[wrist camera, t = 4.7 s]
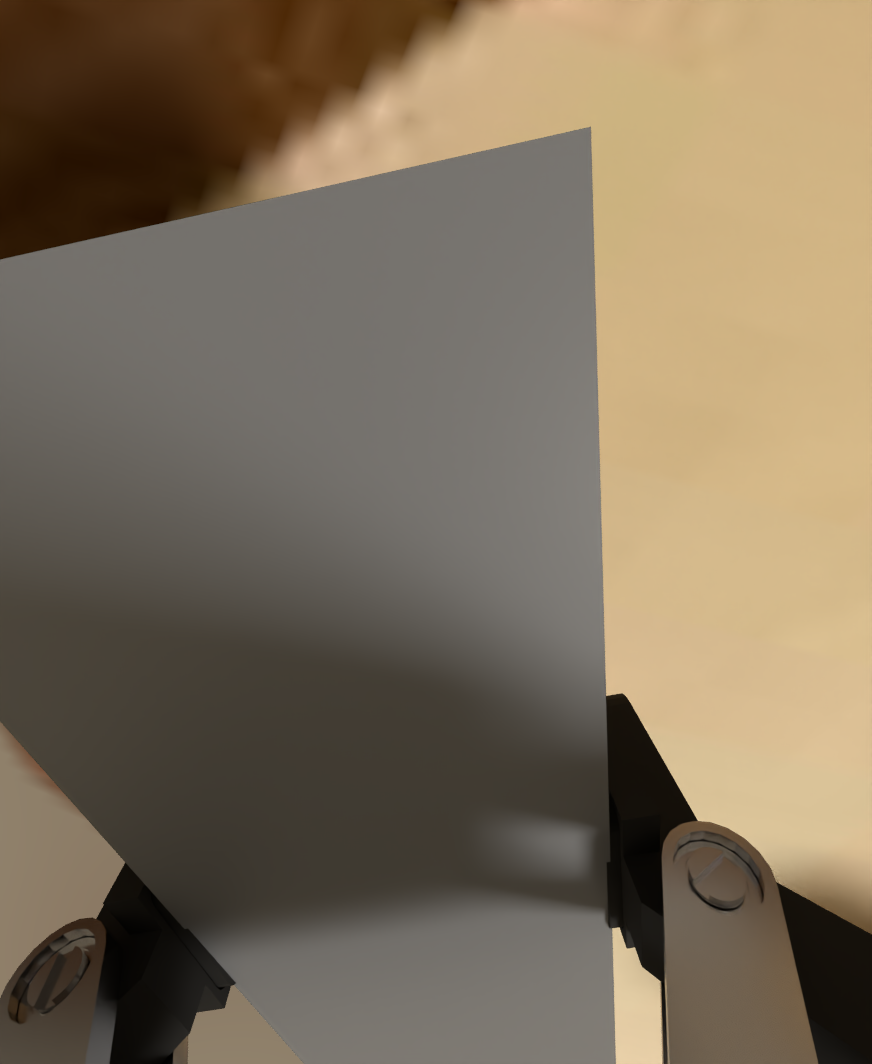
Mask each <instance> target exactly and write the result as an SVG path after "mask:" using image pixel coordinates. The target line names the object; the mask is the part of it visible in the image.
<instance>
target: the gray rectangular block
mask: <svg viewBox="0 0 872 1064" xmlns="http://www.w3.org/2000/svg"><path fill="white" fill-rule="evenodd" d="M0 722H1V723H2V724H3V725H4V726H5V727H6V728H7V729H8V731H9V732H10V733H11V734H12V735H13V736H14V737H15V738H16V740H17V741H18V742H19V743H20V744H21V745H22V746H23V747H24V749H25V750H26V751H27V752H28V753H29V754H30V755H31V756H32V758H33V759H34V760H35V761H36V762H37V763H38V764H39V765H40V767H41V768H42V769H43V770H44V771H45V772H46V773H47V775H48V776H49V777H50V778H51V779H52V780H53V781H54V782H55V784H56V785H57V786H58V787H59V788H60V789H61V790H62V791H63V793H64V794H65V795H66V796H67V797H68V798H69V799H70V800H71V802H72V803H73V804H74V805H75V806H76V807H77V808H78V809H79V811H80V812H81V813H82V814H83V815H84V816H85V817H86V818H87V820H88V821H89V822H90V823H91V824H92V825H93V826H94V827H95V829H96V830H97V831H98V832H99V833H100V834H101V835H102V837H103V838H104V839H105V840H106V841H107V842H108V843H109V844H110V845H111V846H112V848H113V849H114V850H115V851H116V852H117V853H118V855H119V856H120V857H121V858H122V859H123V860H124V861H125V862H126V864H127V865H128V866H129V867H130V868H131V869H132V870H133V871H134V873H135V874H136V875H137V876H138V877H139V878H140V879H141V880H142V882H143V883H144V884H145V885H146V886H147V887H148V888H149V890H150V891H151V892H152V893H153V894H154V895H155V896H156V897H157V899H158V900H159V901H160V902H161V903H162V904H163V905H164V906H165V908H166V909H167V910H168V911H169V912H170V913H171V914H172V915H173V917H174V918H175V919H176V920H177V921H178V922H179V923H180V924H181V926H182V927H183V928H184V929H189V930H190V931H191V932H192V933H193V935H194V936H195V937H196V938H197V939H198V940H199V941H200V942H201V944H202V945H203V946H204V947H205V948H206V949H207V950H208V952H209V953H210V954H211V955H212V956H213V957H214V958H215V960H216V961H217V962H218V963H219V964H220V965H221V966H222V967H223V969H224V970H225V971H226V972H227V973H228V974H229V975H230V977H231V978H232V979H233V980H234V981H235V982H236V984H235V986H236V988H237V989H238V990H239V991H240V992H241V993H242V994H243V995H244V997H245V998H246V999H247V1000H248V1001H249V1002H250V1003H251V1005H253V1007H254V1008H255V1009H256V1010H257V1011H258V1012H259V1014H260V1015H261V1016H262V1017H263V1018H264V1019H265V1020H266V1021H267V1023H268V1024H269V1025H270V1026H271V1027H272V1028H273V1029H274V1030H275V1032H277V1034H278V1035H279V1036H280V1037H281V1038H282V1039H283V1041H284V1042H285V1043H286V1044H287V1045H288V1046H289V1047H290V1048H291V1049H292V1051H293V1052H294V1053H295V1054H296V1055H297V1056H298V1057H299V1059H300V1060H301V1061H302V1062H303V1063H304V1064H616V1056H615V1018H614V980H613V943H612V928H609V922H608V892H607V863H606V862H610V830H609V792H608V754H607V717H606V679H605V641H604V604H603V566H602V528H601V491H600V453H599V415H598V378H597V340H596V302H595V265H594V227H593V190H592V152H591V127H588V128H584V129H579V130H575V131H570V132H566V133H561V134H557V135H553V136H548V137H544V138H539V139H535V140H530V141H526V142H521V143H517V144H513V145H508V146H504V147H499V148H495V149H490V150H486V151H481V152H477V153H472V154H468V155H464V156H459V157H455V158H450V159H446V160H441V161H437V162H432V163H428V164H424V165H419V166H415V167H410V168H406V169H401V170H397V171H392V172H388V173H383V174H379V175H375V176H370V177H366V178H361V179H357V180H352V181H348V182H343V183H339V184H335V185H330V186H326V187H321V188H317V189H312V190H308V191H303V192H299V193H294V194H290V195H286V196H281V197H277V198H272V199H268V200H263V201H259V202H254V203H250V204H246V205H241V206H237V207H232V208H228V209H223V210H219V211H214V212H210V213H205V214H201V215H197V216H192V217H188V218H183V219H179V220H174V221H170V222H165V223H161V224H157V225H152V226H148V227H143V228H139V229H134V230H130V231H125V232H121V233H116V234H112V235H108V236H103V237H99V238H94V239H90V240H85V241H81V242H76V243H72V244H67V245H63V246H59V247H54V248H50V249H45V250H41V251H36V252H32V253H27V254H23V255H19V256H14V257H10V258H5V259H1V260H0Z"/></svg>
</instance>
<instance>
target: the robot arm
mask: <svg viewBox="0 0 872 1064" xmlns="http://www.w3.org/2000/svg"><path fill="white" fill-rule="evenodd" d="M606 717H607V754H608V792H609V830H610V862H606V863H607V892H608V922H609V928H617V927H620V930H621V933H622V936H623V939H624V942H625V945H626V948H633V947H635V948H636V951H637V954H638V957H639V960H640V962H641V965H642V967H643V968H644V969H646V970H647V971H648V972H650V973H651V974H652V975H653V976H655V977H656V978H657V979H659V980H660V998H661V1032H662V1064H872V935H871V934H870V933H868V932H866V931H864V930H862V929H861V928H859V927H857V926H855V925H853V924H851V923H850V922H848V921H846V920H844V919H842V918H841V917H839V916H837V915H835V914H833V913H831V912H830V911H828V910H826V909H824V908H822V907H821V906H819V905H817V904H815V903H813V902H811V901H810V900H808V899H806V898H804V897H802V896H800V895H799V894H797V893H795V892H793V891H791V890H790V889H788V888H786V887H784V886H782V885H780V884H779V883H777V882H776V881H775V878H774V876H773V873H772V870H771V868H770V867H769V865H768V864H767V862H766V861H765V860H764V858H763V857H762V855H761V854H760V853H759V851H758V850H756V849H755V848H754V847H753V846H752V845H751V844H750V843H749V842H748V841H747V840H746V839H744V838H743V837H741V836H740V835H738V834H736V833H735V832H733V831H731V830H730V829H728V828H726V827H723V826H720V825H717V824H714V823H711V822H701V821H698V820H697V819H696V817H695V815H694V813H693V812H692V810H691V808H690V806H689V805H688V803H687V801H686V799H685V798H684V796H683V794H682V792H681V791H680V789H679V787H678V785H677V784H676V782H675V780H674V778H673V777H672V775H671V773H670V771H669V770H668V768H667V766H666V764H665V763H664V761H663V759H662V757H661V756H660V754H659V752H658V751H657V749H656V747H655V745H654V744H653V742H652V740H651V738H650V737H649V735H648V733H647V731H646V730H645V728H644V726H643V724H642V723H641V721H640V719H639V717H638V716H637V714H636V712H635V710H634V709H633V707H632V705H631V703H630V702H629V700H628V699H627V697H626V696H625V695H624V694H616V695H610V696H606ZM103 904H104V906H103V908H102V909H101V911H100V913H99V915H98V917H97V919H94V918H84V919H79V920H76V921H74V922H71V923H69V924H67V925H65V926H63V927H62V928H60V929H59V930H57V931H55V932H54V933H52V934H51V935H49V936H48V937H47V938H46V939H45V940H44V941H43V942H42V943H41V944H39V945H38V946H37V947H36V948H35V949H34V950H33V951H32V952H31V953H30V954H29V955H28V956H27V958H26V959H25V960H24V961H23V962H22V963H21V965H20V966H19V967H18V968H17V970H16V971H15V973H14V974H13V976H12V977H11V979H10V980H9V982H8V983H7V985H6V987H5V989H4V991H3V993H2V995H1V998H0V1064H187V1063H188V1062H187V1061H188V1034H189V1033H190V1031H191V1028H192V1024H193V1022H194V1019H195V1015H196V1013H197V1012H202V1011H209V1010H216V1009H222V1008H225V1005H226V1001H227V997H228V994H229V991H230V986H232V985H235V984H236V982H235V981H234V980H233V979H232V978H231V977H230V975H229V974H228V973H227V972H226V971H225V970H224V969H223V967H222V966H221V965H220V964H219V963H218V962H217V961H216V960H215V958H214V957H213V956H212V955H211V954H210V953H209V952H208V950H207V949H206V948H205V947H204V946H203V945H202V944H201V942H200V941H199V940H198V939H197V938H196V937H195V936H194V935H193V933H192V932H191V931H190V930H189V929H184V928H183V927H182V926H181V924H180V923H179V922H178V921H177V920H176V919H175V918H174V917H173V915H172V914H171V913H170V912H169V911H168V910H167V909H166V908H165V906H164V905H163V904H162V903H161V902H160V901H159V900H158V899H157V897H156V896H155V895H154V894H153V893H152V892H151V891H150V890H149V888H148V887H147V886H146V885H145V884H144V883H143V882H142V880H141V879H140V878H139V877H138V876H137V875H136V874H135V873H134V871H133V870H132V869H131V868H130V867H129V866H128V865H127V864H126V862H125V864H124V866H123V868H122V870H121V872H120V873H119V875H118V877H117V879H116V881H115V882H114V884H113V886H112V888H111V890H110V892H109V893H108V895H107V897H106V899H105V901H104V903H103Z"/></svg>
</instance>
